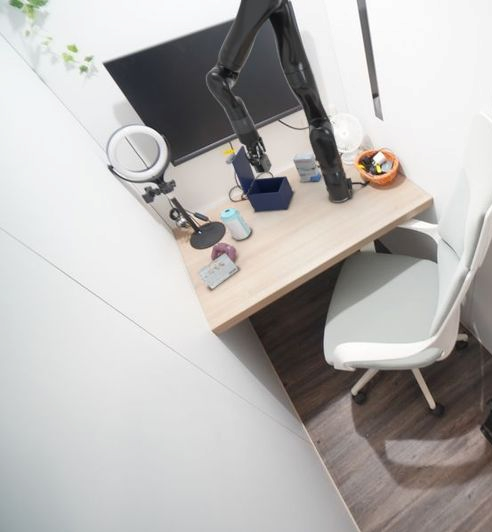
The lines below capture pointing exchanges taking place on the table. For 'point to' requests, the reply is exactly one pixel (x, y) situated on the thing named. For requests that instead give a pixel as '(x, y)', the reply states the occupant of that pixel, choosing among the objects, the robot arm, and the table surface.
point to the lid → (242, 169)
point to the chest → (270, 194)
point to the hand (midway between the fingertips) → (264, 168)
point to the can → (235, 223)
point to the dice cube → (264, 163)
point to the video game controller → (223, 251)
